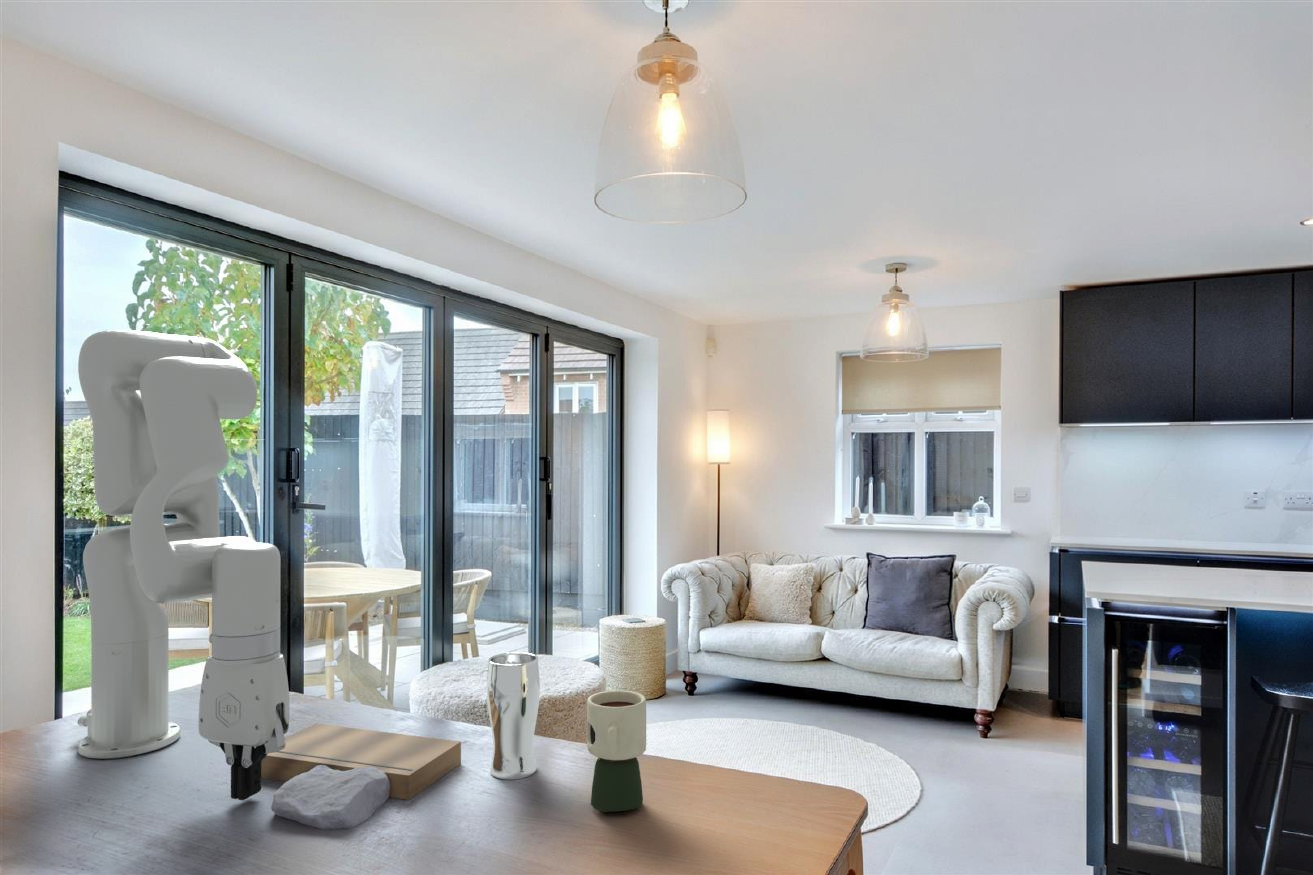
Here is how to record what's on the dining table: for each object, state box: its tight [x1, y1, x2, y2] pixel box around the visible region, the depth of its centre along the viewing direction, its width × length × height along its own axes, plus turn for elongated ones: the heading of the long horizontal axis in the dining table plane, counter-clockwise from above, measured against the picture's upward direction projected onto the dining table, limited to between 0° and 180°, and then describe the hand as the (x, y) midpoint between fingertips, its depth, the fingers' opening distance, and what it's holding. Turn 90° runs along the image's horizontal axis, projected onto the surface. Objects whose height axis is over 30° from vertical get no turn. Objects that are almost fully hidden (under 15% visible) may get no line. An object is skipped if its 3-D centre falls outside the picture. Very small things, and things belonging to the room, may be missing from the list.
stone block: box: [270, 765, 390, 830], centre depth 99 cm, size 12×5×10 cm
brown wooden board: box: [261, 723, 462, 801], centre depth 111 cm, size 24×12×3 cm, turn 72°
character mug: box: [586, 689, 647, 813], centre depth 99 cm, size 11×7×13 cm, turn 177°
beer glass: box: [486, 651, 541, 781], centre depth 110 cm, size 7×7×15 cm
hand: (246, 794), depth 101 cm, fingers closed
